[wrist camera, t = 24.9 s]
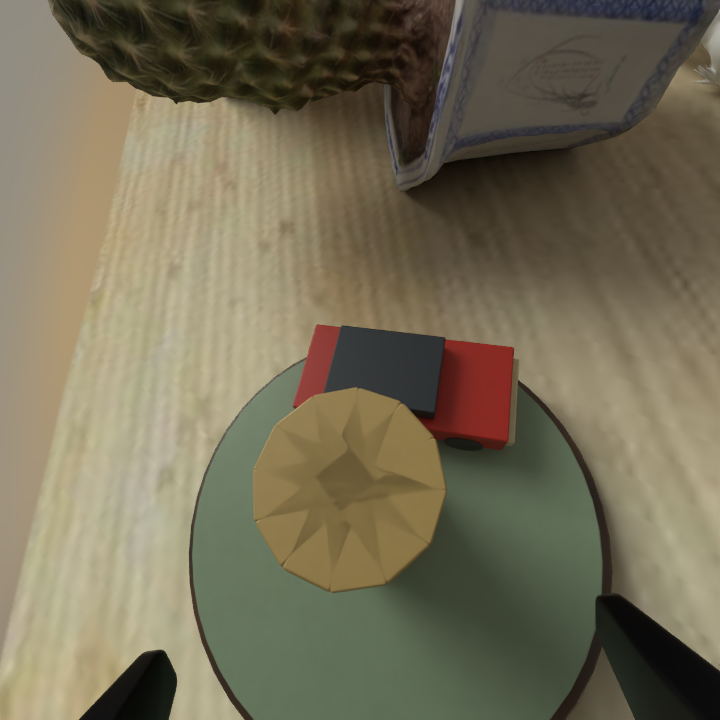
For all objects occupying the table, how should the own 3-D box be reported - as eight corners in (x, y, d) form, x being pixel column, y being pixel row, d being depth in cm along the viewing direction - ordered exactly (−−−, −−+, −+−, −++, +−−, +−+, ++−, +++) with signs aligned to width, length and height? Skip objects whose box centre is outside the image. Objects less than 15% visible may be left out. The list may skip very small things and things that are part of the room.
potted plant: (678, -309, 19) (-47, -458, 14) (961, -168, 12) (-331, -381, 7) (511, 81, 35) (143, 69, 30) (586, 243, 27) (116, 261, 23)
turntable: (605, 864, 12) (1076, 1671, 3) (136, 693, 16) (-221, 871, 7) (591, 367, 19) (737, 207, 10) (265, 327, 23) (165, 184, 14)
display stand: (696, 749, 14) (711, 760, 13) (190, 824, 15) (179, 838, 14) (517, 312, 22) (520, 304, 21) (200, 379, 23) (193, 373, 22)
